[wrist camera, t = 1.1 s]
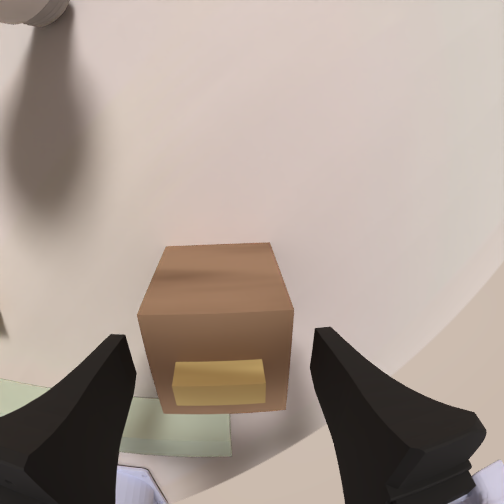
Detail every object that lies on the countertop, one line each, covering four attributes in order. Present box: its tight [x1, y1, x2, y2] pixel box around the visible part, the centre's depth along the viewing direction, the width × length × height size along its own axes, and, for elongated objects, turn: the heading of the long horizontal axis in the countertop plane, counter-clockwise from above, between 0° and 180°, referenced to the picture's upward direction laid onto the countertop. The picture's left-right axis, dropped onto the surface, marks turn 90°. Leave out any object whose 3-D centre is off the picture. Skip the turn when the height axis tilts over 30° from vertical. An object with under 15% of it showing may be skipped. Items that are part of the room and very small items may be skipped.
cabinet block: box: [137, 243, 294, 414], centre depth 13 cm, size 5×5×7 cm
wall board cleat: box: [0, 379, 232, 457], centre depth 16 cm, size 10×26×4 cm, turn 91°
